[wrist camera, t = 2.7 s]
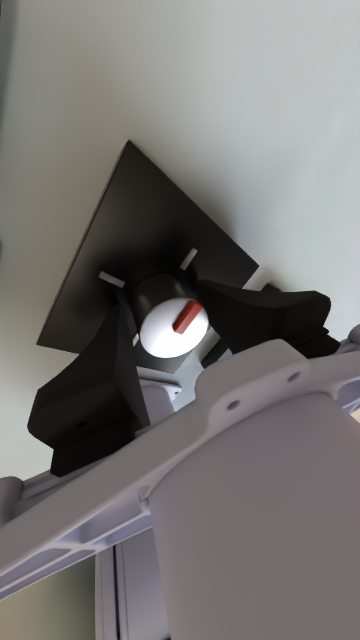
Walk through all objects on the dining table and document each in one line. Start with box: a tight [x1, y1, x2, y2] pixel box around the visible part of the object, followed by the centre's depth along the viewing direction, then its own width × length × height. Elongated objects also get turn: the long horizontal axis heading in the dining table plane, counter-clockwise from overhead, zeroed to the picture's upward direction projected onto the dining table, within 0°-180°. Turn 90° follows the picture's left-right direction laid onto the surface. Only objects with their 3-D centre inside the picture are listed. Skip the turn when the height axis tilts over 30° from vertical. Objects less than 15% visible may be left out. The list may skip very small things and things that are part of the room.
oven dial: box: [130, 274, 209, 358], centre depth 11 cm, size 4×4×4 cm
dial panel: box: [36, 140, 259, 374], centre depth 14 cm, size 12×11×3 cm
